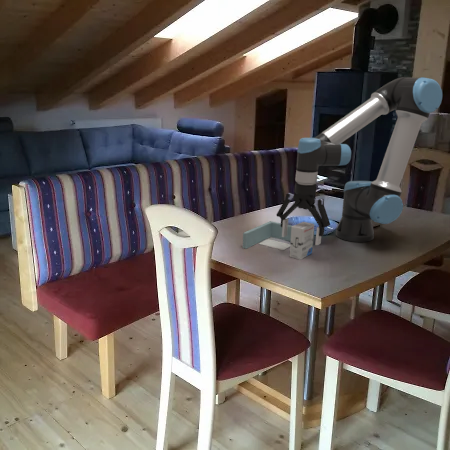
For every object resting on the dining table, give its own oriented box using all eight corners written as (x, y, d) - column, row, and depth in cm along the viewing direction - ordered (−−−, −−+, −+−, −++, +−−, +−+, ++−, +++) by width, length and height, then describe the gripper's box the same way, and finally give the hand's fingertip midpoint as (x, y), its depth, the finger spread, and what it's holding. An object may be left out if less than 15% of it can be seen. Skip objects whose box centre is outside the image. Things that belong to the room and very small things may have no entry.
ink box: (301, 250, 190) (303, 220, 186) (312, 253, 187) (315, 223, 183) (288, 256, 183) (290, 225, 180) (300, 260, 180) (302, 228, 177)
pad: (292, 245, 195) (292, 244, 195) (283, 250, 190) (283, 249, 190) (268, 239, 201) (268, 239, 201) (258, 244, 196) (258, 243, 196)
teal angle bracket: (313, 245, 196) (314, 230, 194) (288, 259, 180) (289, 243, 179) (269, 235, 207) (270, 221, 205) (242, 247, 191) (243, 232, 189)
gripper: (343, 186, 173) (337, 245, 179) (280, 176, 187) (276, 230, 193) (334, 190, 167) (328, 250, 173) (269, 178, 181) (266, 235, 187)
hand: (300, 240), depth 183 cm, fingers open, 13 cm apart
